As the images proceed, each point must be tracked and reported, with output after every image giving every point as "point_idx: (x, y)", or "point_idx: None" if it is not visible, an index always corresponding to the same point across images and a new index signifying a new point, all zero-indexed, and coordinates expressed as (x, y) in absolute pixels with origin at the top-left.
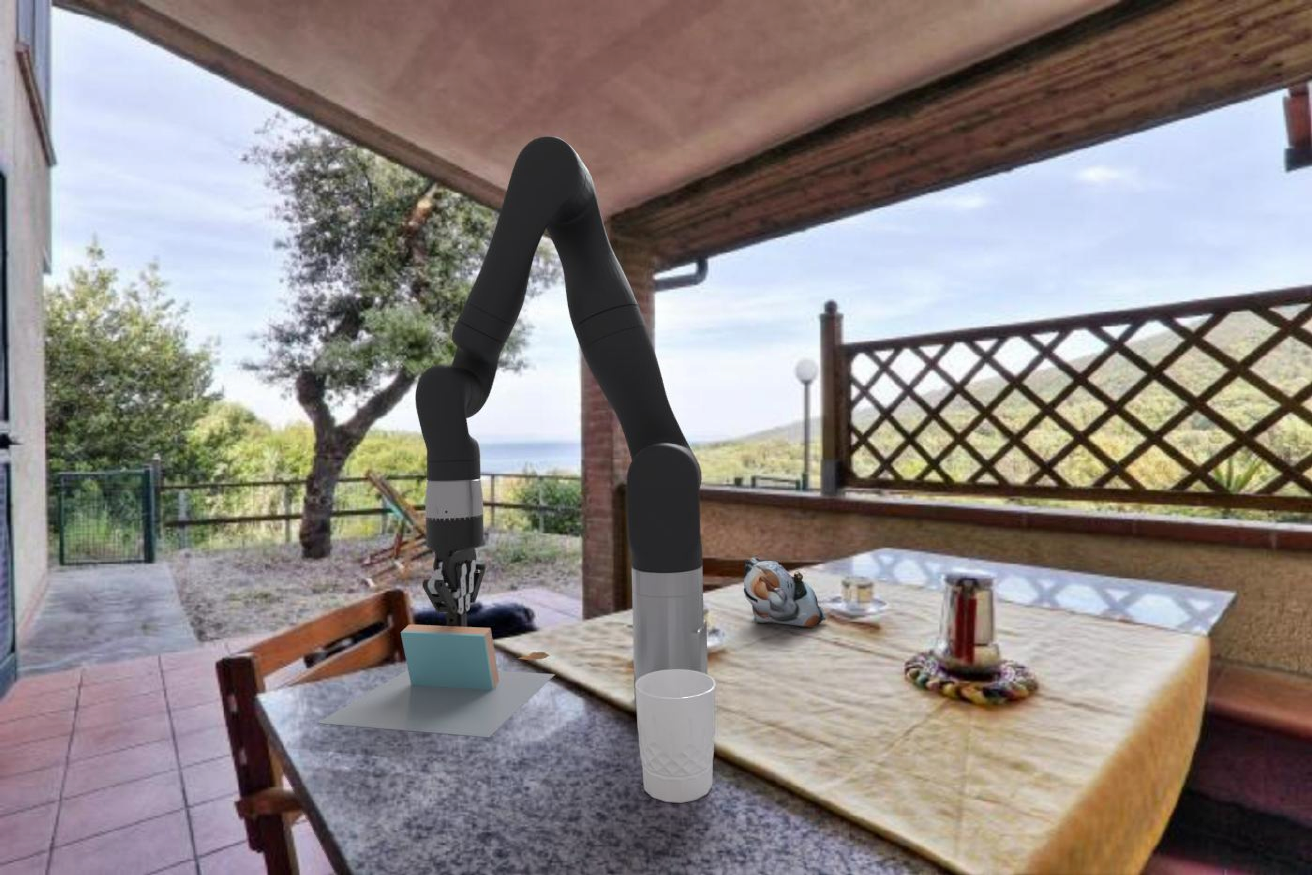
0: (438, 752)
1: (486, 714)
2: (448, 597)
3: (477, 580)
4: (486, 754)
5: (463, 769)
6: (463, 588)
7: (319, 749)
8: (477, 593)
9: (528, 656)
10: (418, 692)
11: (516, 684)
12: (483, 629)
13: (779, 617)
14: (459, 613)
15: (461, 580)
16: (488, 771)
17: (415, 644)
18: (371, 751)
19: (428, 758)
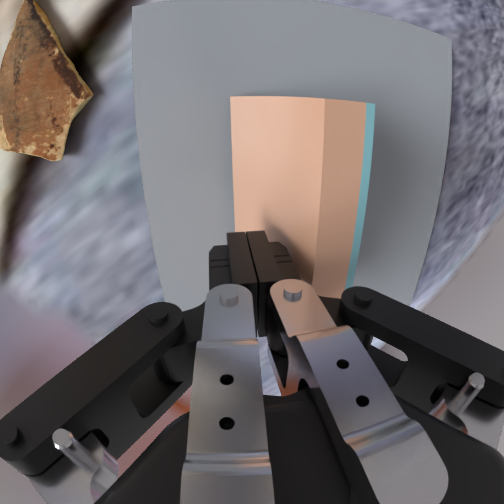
0: (456, 107)
1: (387, 61)
2: (434, 333)
3: (97, 393)
4: (452, 40)
5: (480, 62)
6: (337, 361)
7: (441, 262)
8: (117, 332)
9: (36, 142)
10: None
11: (219, 56)
12: (334, 127)
13: None
14: (302, 283)
15: (385, 404)
16: (478, 33)
17: None
18: (453, 199)
19: (468, 115)
